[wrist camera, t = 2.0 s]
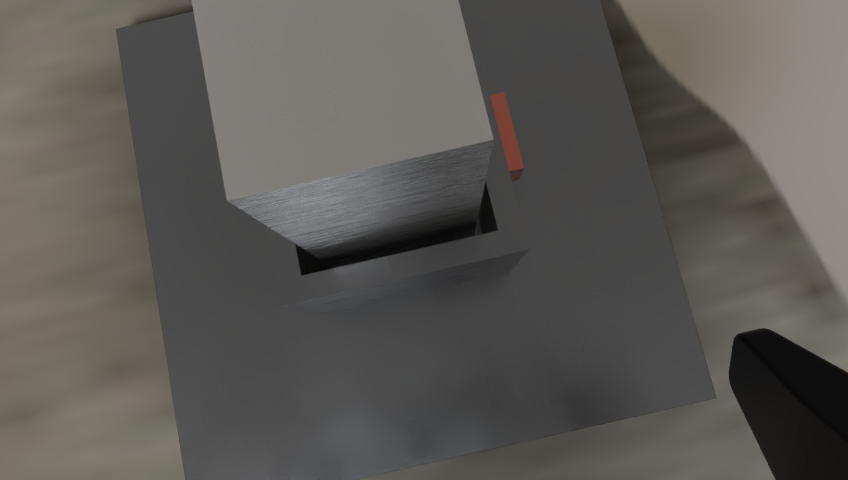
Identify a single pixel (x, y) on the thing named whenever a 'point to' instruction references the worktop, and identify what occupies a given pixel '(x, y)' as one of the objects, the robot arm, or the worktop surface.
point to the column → (347, 121)
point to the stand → (419, 275)
